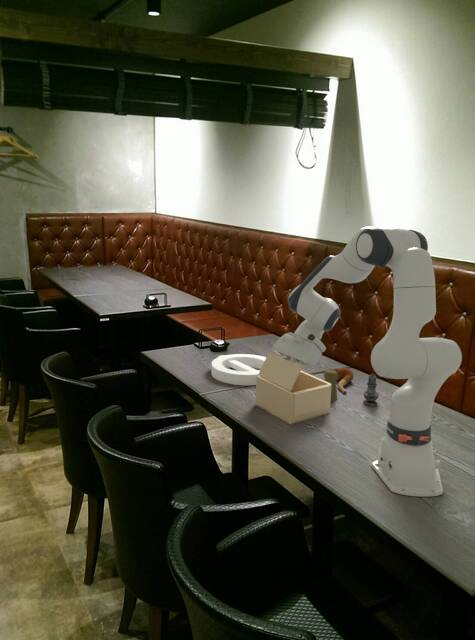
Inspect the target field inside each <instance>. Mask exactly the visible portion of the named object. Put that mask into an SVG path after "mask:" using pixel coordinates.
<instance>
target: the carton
mask: <svg viewBox="0 0 475 640" xmlns="http://www.w3.org/2000/svg"><path fill="white" fill-rule="evenodd" d="M255 387H256V388H255V390H256V391H255V406H257V407H259V408H261V409H262V410H264V411H266V412H268V413H269V414H271V415H273V416H274V417H277V419H279V420H281V421H283V422H285V423H287V424H289V425H293V424H297V423H301V422H305V421H307V420H312V419H314V418H319V417H323V416H325V415H329V414H330V409H331V402H332V401H331V387H332V384H331V383H328V382H326V381H325V379H324V380H323V379H321V378H319V377H316V376H314V375H313V374H310V373H307V372H305V371H303V370H301V371H300V373H299V375H298V377H297V379H296V381H295V384H294V386H293V388H292V390H291V391H290V390H288V389H286V388H284V387H282V386H280V385H278V384H275V383H273V382H271V381H269V380H267V379H265V378H263V377H261V376H257V382H256V385H255Z"/></svg>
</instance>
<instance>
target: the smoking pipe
mask: <svg viewBox="0 0 475 640" xmlns="http://www.w3.org/2000/svg"><path fill="white" fill-rule="evenodd" d="M335 371H336V372H337V374H338V378H337V379H336V381H338V384H337V388H338V389H339V390H340V392H342V394H343V395H344V394H345V393H346V394H347V390H346V389H345V388H344V386H345V385H346V386H347V385H348V384H349V383H350V382H351V381H353V380H354V376H355V375H354V372H353V371H352V370H351V369H350V368H347V367H340V368H336V369H335Z"/></svg>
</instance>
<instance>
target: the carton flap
mask: <svg viewBox="0 0 475 640" xmlns="http://www.w3.org/2000/svg"><path fill="white" fill-rule="evenodd" d="M265 357H266V359H265V361H264V364H263V366H262V368H261V369H259V370H260V372H259V374H258V375H259V376H261V377H263V378H265V379H267V380H269V381H271V382H273V383H275V384H278V385H280V386H282V387H284V388H286V389H288V390H290V391H291V390H292V388H293V386H294V384H295V381H296V379H297V377H298V375H299V373H300V371H302V369H303V366H302V365H299V364H298V363H296V364H295V363H292V362H290V360H289V361H288V360H285V359H283V357H282V356H278V355H276V354H273V353H271V352H268V353H267V355H266V356H265Z"/></svg>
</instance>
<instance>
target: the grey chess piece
mask: <svg viewBox="0 0 475 640" xmlns="http://www.w3.org/2000/svg"><path fill="white" fill-rule="evenodd" d="M367 380H368V381H367V383H366V385H367V389H366V391H363V392H362V394H363V398H364V400H363V401H362V403H363V404H365V405H367V406H377V405H378V402H377V400H378V398H379V396H380V394H379V392H377V390H376V389H377V385H378V384H377V375H375V374H374V372H372V373H371V374H369V376H368V379H367Z"/></svg>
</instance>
